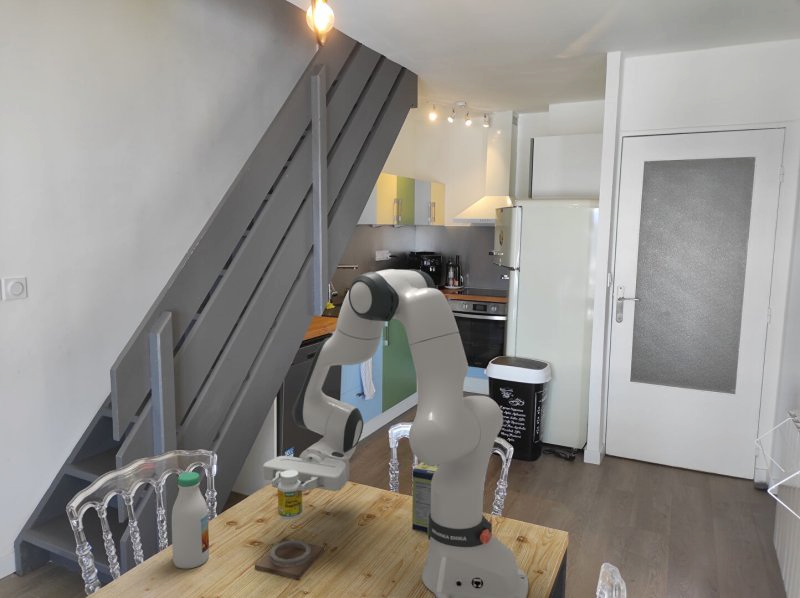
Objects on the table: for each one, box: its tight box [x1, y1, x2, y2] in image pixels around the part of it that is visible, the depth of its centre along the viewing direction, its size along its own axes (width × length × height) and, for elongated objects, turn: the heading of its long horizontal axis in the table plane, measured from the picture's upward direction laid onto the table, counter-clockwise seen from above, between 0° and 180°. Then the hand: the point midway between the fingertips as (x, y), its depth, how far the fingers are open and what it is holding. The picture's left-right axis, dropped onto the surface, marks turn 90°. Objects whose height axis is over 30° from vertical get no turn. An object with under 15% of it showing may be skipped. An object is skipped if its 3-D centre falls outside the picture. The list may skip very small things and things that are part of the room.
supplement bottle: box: [277, 470, 303, 520], centre depth 128 cm, size 5×5×10 cm
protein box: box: [411, 461, 439, 533], centre depth 148 cm, size 10×16×16 cm
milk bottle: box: [171, 471, 210, 570], centre depth 128 cm, size 8×8×20 cm
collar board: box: [254, 537, 325, 580], centre depth 130 cm, size 11×12×2 cm
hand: (287, 486), depth 127 cm, fingers closed on supplement bottle, 5 cm apart
